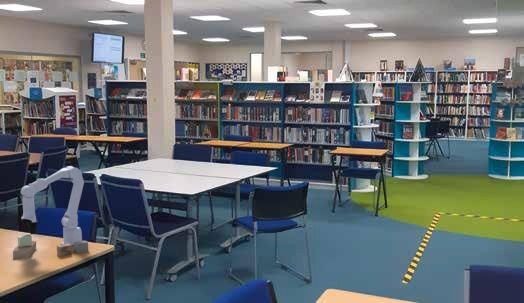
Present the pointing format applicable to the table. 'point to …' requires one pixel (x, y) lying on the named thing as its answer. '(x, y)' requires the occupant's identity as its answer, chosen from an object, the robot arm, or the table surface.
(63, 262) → the table surface
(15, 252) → the brick
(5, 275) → the table surface
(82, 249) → the grey block
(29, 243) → the green block
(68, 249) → the walnut block
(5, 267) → the table surface
